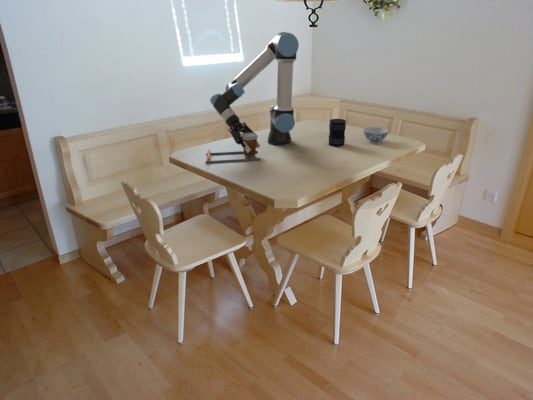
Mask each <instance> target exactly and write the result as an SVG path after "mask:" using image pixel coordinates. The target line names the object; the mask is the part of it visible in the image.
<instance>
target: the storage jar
mask: <svg viewBox="0 0 533 400" xmlns="http://www.w3.org/2000/svg"><path fill="white" fill-rule="evenodd" d="M346 123H347V121H346V119H344V118H332V119H329V126H328V127H329V134H328V146H330V147H335V148H336V147H337V148H338V147H339V148H340V147H343V146H345V140H346V136H345V132H346Z"/></svg>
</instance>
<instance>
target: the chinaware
mask: <svg viewBox="0 0 533 400" xmlns="http://www.w3.org/2000/svg"><path fill="white" fill-rule="evenodd" d="M388 134H389V130H388V129H387V128H385V127H377V126H369V127H365V128H363V135H364V137H365V139H366V140H368V141H369V143H370V144H375V145H377V144H381V142H382V141H384V140H385V139H386V137H387V136H388Z"/></svg>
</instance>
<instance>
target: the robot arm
mask: <svg viewBox="0 0 533 400" xmlns="http://www.w3.org/2000/svg"><path fill="white" fill-rule="evenodd" d="M299 45H300V44H299V40H298V38H297V36H295V34H294V33H291V32H285V31H283V32H279V33H277V34H276V35H275V36H274V37H273V38H272V39H271V41H269V43H268V44H266V45H265V49H264V50H263V51H262V52H261V53H260V54H259V55H258V56H256V58H255V59H253V60H252V61H251V63H249V64H248V66H246V67H245V68H244V69H243V70H242V71H241V72H240V73H239V74H238V75H237V76H235V78H234V79H232V81H230V82H228V83H227V84H226V86H225V91H224V92H223V93H222V94H221V93H220V92H217V93H215V94H214V95H212V96H211V98H210V100H209V101H210V103H211V105H212V107H213V108H214V110H215V111H216V112H217V113H218V115H219V116H220V117H221V118H222V120H224V122H225V124H226V125H227V126H228V127H229V128H228V129H227V131H228V132H229V133H230V135H231V136H232V138H233V140H234V142H235V143H236V145H237V144H238V145H240V146H241V147H242V149H243V148H244V149H245V150H246V152H247V153H249V152H250V151H251V149H250V148H249V147H248V145H247V144H246V143H245V141H243V140H242V137H241V135H242V134H243V133H255V132H254V131H253V130H252V129H251V128H250V127H249V125H247V123H246V122H244V121H243V122H241V121H240V118H239V116H238V115H237V114H236V112H235V111H234V110H233V108H232V107H231V106H232V105H233V103H235V101H237V100H238V99H240V98H241V97H242V96H243V95H244V94H245V92H246V91H245V89H244V88H245V87H246V86H247V85H249V84H250V83H251V82H252V81H253V80H254V79H255V78H256V77H257V76H258V75H259V74H260V73H262V71H264V69H266V68H267V67H268V66H269V65H270V64H271V63H272V62H273V61H274V60H276V61H277V79H276V80H277V81H276V83H277V85H276V89H277V90H276V104H275V105H271V106H270V107H269V116H270V117H269V126H270V130H269V132H268V137H267V143H268V144H270V145H275V146H276V145H277V146H282V145H288V144H291V143H292V136H291V131H292V130H293V128H294V127H295V122H296V120H295V116H294V115H295V114H294V112H295V109H294V107H293V106H292V98H293V97H292V96H293V76H294V74H293V73H294V62H295V61H297V54H298V53H297V52H298V50H299ZM241 133H242V134H241ZM260 147H261V144H260V142H258V140H257V143H256V150H257V149H260Z"/></svg>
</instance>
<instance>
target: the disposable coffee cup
mask: <svg viewBox="0 0 533 400" xmlns="http://www.w3.org/2000/svg"><path fill="white" fill-rule="evenodd" d="M241 137H242V140H243V141H245V143H246V144H247V145H248V147H249V148H250V149H251V151H250V152H249V153H247V152H246V150H245V149H244V148H243V147H242V149H243V150H242V151H244V153H243V155H244V157H248V158H249V157H250V158H251V157H255V156H256V154H257V153H256V151H257V148H256V143H257V141H258V140H257V139H258V138H259V137H258V134H257V133H255V132H254V133H243V132H242V134H241Z"/></svg>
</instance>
